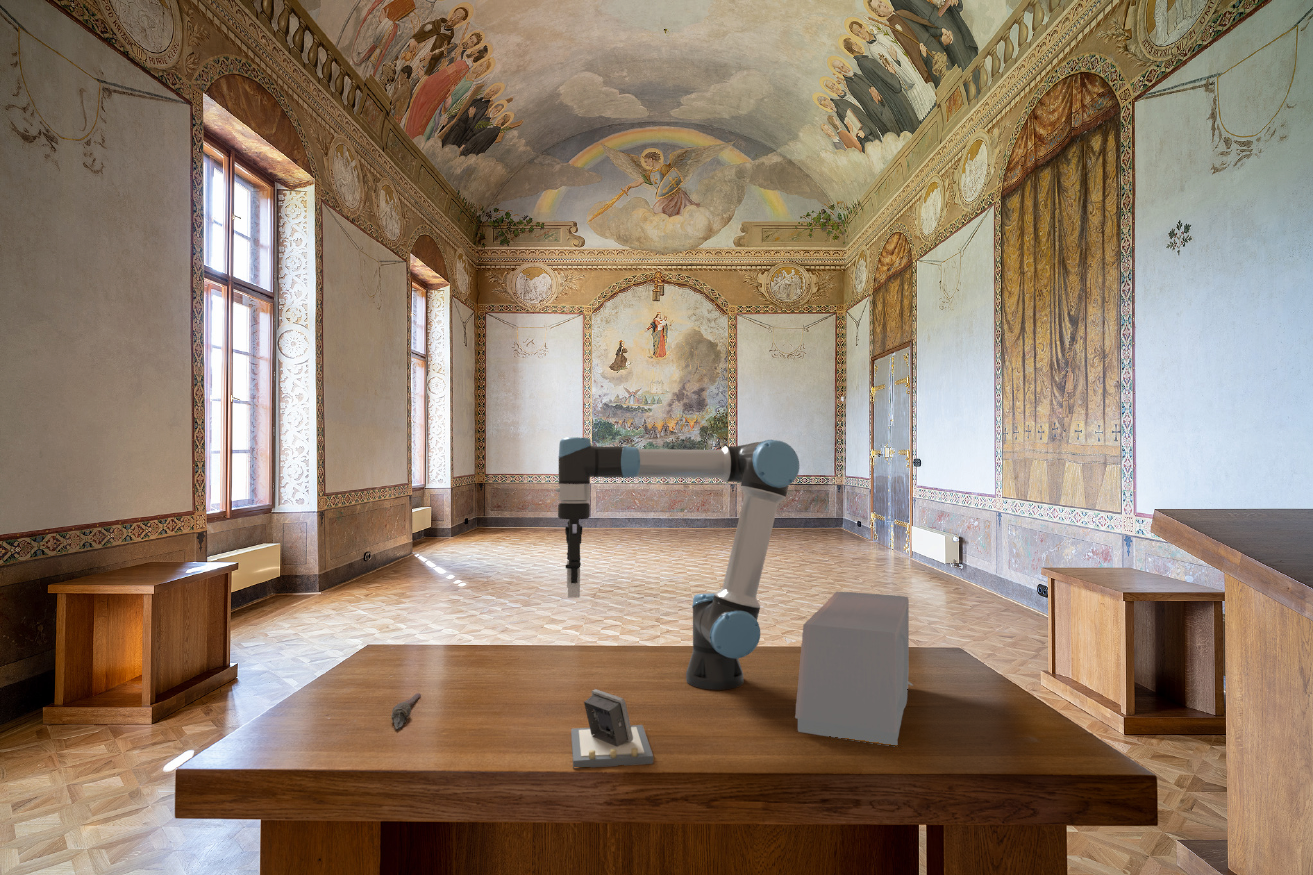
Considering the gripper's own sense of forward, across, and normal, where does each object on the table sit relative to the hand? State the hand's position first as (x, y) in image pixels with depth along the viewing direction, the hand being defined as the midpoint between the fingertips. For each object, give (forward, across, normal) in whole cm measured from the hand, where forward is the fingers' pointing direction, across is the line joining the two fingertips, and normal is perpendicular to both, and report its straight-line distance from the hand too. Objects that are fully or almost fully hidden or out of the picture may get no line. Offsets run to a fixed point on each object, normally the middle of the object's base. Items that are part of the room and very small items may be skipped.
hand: (573, 592), depth 158 cm
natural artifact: (+27, -2, -37) cm, 46 cm away
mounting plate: (+27, +25, +7) cm, 37 cm away
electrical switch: (+25, +25, +7) cm, 36 cm away
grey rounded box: (+27, +10, +67) cm, 73 cm away
